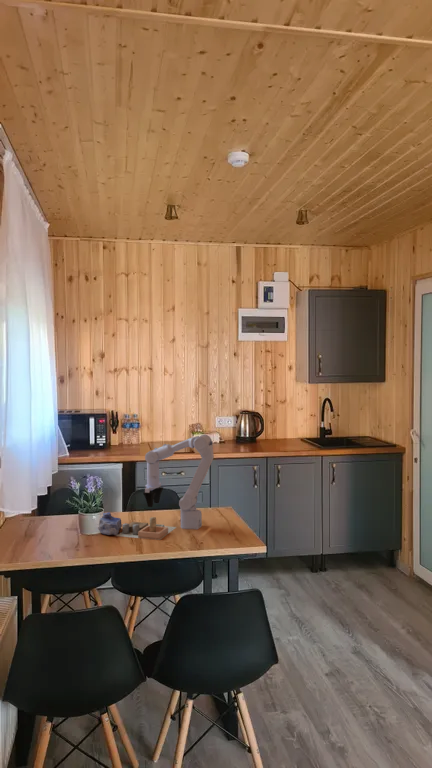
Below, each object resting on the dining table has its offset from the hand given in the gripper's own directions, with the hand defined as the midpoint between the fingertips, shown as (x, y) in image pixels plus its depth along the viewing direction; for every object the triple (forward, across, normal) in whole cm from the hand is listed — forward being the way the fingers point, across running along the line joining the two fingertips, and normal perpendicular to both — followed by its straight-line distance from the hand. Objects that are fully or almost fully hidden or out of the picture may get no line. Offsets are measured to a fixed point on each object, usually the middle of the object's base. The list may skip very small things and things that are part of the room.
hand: (153, 504), depth 263 cm
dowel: (+9, +16, +6) cm, 19 cm away
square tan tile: (+9, +10, -4) cm, 15 cm away
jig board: (+10, +11, +2) cm, 15 cm away
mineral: (+11, +16, -15) cm, 24 cm away
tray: (+9, +16, +6) cm, 19 cm away
